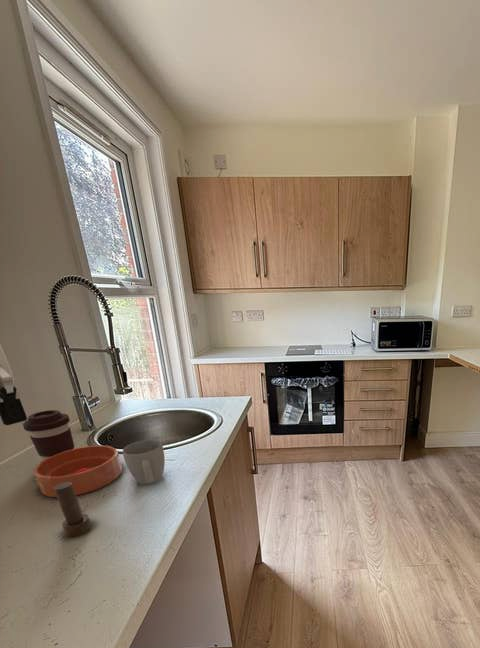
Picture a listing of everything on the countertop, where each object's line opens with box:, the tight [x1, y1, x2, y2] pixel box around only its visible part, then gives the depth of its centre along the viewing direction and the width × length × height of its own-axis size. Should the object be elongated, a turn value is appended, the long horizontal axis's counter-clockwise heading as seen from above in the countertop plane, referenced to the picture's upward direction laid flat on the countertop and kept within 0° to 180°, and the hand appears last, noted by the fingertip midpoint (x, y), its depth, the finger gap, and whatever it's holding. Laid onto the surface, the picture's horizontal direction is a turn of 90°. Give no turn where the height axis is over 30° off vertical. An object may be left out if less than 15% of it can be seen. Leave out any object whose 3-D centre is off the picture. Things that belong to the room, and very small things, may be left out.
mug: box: [122, 439, 166, 486], centre depth 85 cm, size 12×9×10 cm
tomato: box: [76, 468, 90, 474], centre depth 87 cm, size 4×4×4 cm
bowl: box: [33, 444, 123, 498], centre depth 88 cm, size 17×17×6 cm
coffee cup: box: [22, 409, 75, 461], centre depth 96 cm, size 10×10×15 cm
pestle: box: [54, 482, 93, 538], centre depth 68 cm, size 4×4×11 cm
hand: (4, 418), depth 62 cm, fingers open, 9 cm apart
